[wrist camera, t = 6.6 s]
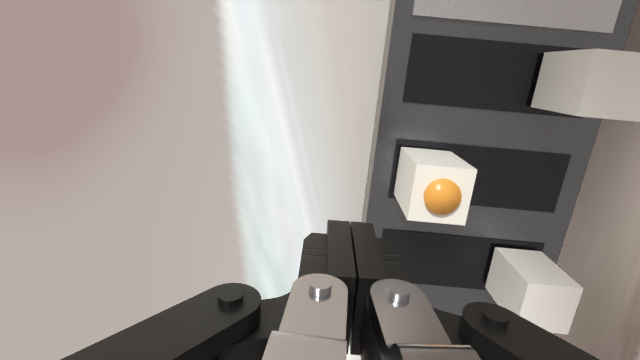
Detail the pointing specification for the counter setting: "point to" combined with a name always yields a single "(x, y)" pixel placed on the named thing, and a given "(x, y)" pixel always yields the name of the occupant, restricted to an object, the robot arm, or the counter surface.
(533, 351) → the robot arm
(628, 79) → the block
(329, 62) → the counter surface
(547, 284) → the block
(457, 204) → the block
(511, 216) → the panel
